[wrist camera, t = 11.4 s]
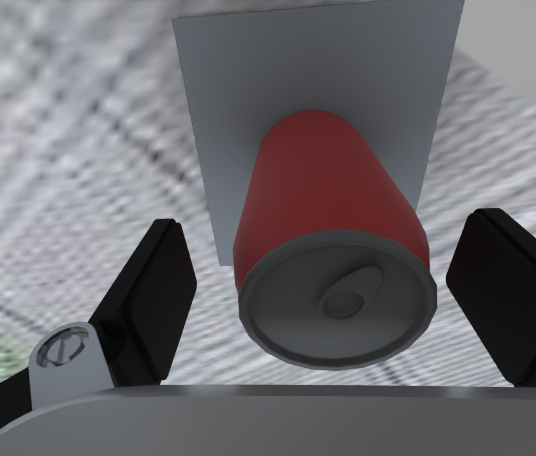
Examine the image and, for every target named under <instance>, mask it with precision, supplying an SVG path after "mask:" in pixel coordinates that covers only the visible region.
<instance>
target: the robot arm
mask: <svg viewBox="0 0 536 456" xmlns="http://www.w3.org/2000/svg"><path fill="white" fill-rule="evenodd" d="M446 284H447V287H448V288H449V290H450V292H451V293H452V295H453V296H454V298H455V300H456V301H457V303H458V304H459V306H460V308H461V309H462V311H463V312H464V314H465V316H466V317H467V319H468V320H469V322H470V324H471V325H472V327H473V329H474V330H475V332H476V333H477V335H478V337H479V338H480V340H481V341H482V343H483V345H484V346H485V348H486V349H487V351H488V353H489V354H490V356H491V357H492V359H493V361H494V362H495V364H496V365H497V367H498V369H499V370H500V372H501V373H502V375H503V377H504V378H505V379H506V380H507V381H508V382H510V383H512V384H513V385H514V387H456V386H368V385H160V383H161V380H165V379H166V378H167V376H168V374H169V371H170V368H171V365H172V362H173V359H174V356H175V353H176V350H177V347H178V344H179V341H180V338H181V335H182V332H183V329H184V325H185V322H186V319H187V316H188V313H189V310H190V307H191V304H192V301H193V298H194V295H195V292H196V288H197V281H196V277H195V273H194V269H193V266H192V262H191V259H190V255H189V251H188V248H187V244H186V240H185V237H184V233H183V230H182V226H181V224H180V223H176V221H175V220H174V219H156V220H155V221H154V222H153V224H152V225H151V227H150V228H149V230H148V231H147V233H146V234H145V236H144V237H143V239H142V240H141V242H140V243H139V245H138V246H137V248H136V249H135V251H134V252H133V254H132V256H131V257H130V259H129V260H128V262H127V263H126V265H125V266H124V268H123V269H122V271H121V272H120V274H119V275H118V277H117V278H116V280H115V281H114V283H113V284H112V286H111V287H110V289H109V290H108V292H107V293H106V295H105V297H104V298H103V300H102V301H101V303H100V304H99V306H98V307H97V309H96V310H95V312H94V313H93V315H92V316H91V318H90V319H89V321H88V322H73V323H69V324H66V325H63V326H61V327H59V328H57V329H55V330H53V331H52V332H50V333H49V334H48V335H46V336H45V337H44V338H43V339H41V340H40V342H39V343H38V344H37V345H36V346H35V347H34V349H33V351H32V353H31V355H30V356H29V363H28V366H29V367H27V368H25V369H24V370H22V371H20V372H18V373H17V374H15V375H13V376H11V377H10V378H8V379H6V380H4V381H3V382H1V383H0V456H536V238H535V237H534V236H533V235H531V234H530V233H529V232H528V231H527V230H525V229H524V228H523V227H522V226H521V225H520V224H518V223H517V222H516V221H515V220H514V219H513V218H511V217H510V216H509V215H508V214H507V213H505V212H504V211H503V210H502V209H500V208H480V209H476V210H475V211H474V213H471V214H470V215H469V216H468V218H467V220H466V223H465V226H464V228H463V231H462V234H461V236H460V239H459V242H458V245H457V247H456V250H455V253H454V255H453V258H452V261H451V264H450V266H449V269H448V272H447V274H446Z"/></svg>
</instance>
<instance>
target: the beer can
mask: <svg viewBox="0 0 536 456" xmlns="http://www.w3.org/2000/svg"><path fill="white" fill-rule="evenodd" d="M233 263H234V277H235V286H236V289H237V292H238V295H239V296H238V303H239V318H240V320H241V322H242V324H243V326H244V328H245V330H246V332H247V334H248V336H249V337H250V338H251V339H252V340H253V341H254V342H256V343H257V344H258V345H259V346H260V347H261V348H262V349H263V350H264V351H266V352H267V353H269V354H271V355H273V356H274V357H276V358H278V359H280V360H282V361H284V362H286V363H289V364H293V365H296V366H300V367H304V368H308V369H314V370H330V371H340V370H349V369H357V368H364V367H367V366H370V365H373V364H376V363H380V362H383V361H386V360H388V359H390V358H392V357H393V356H395V355H397V354H399V353H400V352H402V351H404V350H406V349H407V348H409V347H410V346H411V345H412V344H413V343H414V342H415V341H416V340H417V339H418V338H419V337H420V336H421V335H422V334H423V333H424V332H425V331H426V330H427V329H428V327H429V324H430V322H431V320H432V318H433V316H434V314H435V312H436V309H437V285H436V283H435V281H434V279H433V278H432V276H431V274H430V260H429V245H428V241H427V237H426V233H425V231H424V229H423V227H422V225H421V223H420V221H419V219H418V217H417V215H416V213H415V211H414V209H413V208H412V206H411V205H410V204H409V202H408V201H407V199H406V198H405V197H404V195H403V194H402V192H401V191H400V190H399V188H398V187H397V185H396V184H395V183H394V181H393V180H392V178H391V177H390V176H389V174H388V173H387V171H386V170H385V169H384V167H383V166H382V164H381V163H380V162H379V160H378V159H377V157H376V156H375V155H374V153H373V152H372V150H371V149H370V148H369V146H368V145H367V143H366V142H365V141H364V139H363V138H362V136H361V135H360V133H359V132H358V131H357V129H356V128H355V127H353V126H352V125H351V124H350V123H349V122H348V121H347V120H345V119H344V118H343V117H341V116H338V115H336V114H333V113H330V112H328V111H320V110H305V111H302V112H299V113H296V114H292V115H289V116H287V117H286V118H284V119H283V120H281V121H280V122H279V123H277V124H276V125H274V126H273V127H272V128H271V130H270V131H269V132H268V134H267V135H266V136H265V138H264V139H263V140H262V143H261V146H260V149H259V152H258V155H257V158H256V162H255V165H254V169H253V173H252V177H251V180H250V184H249V188H248V192H247V196H246V199H245V203H244V207H243V211H242V215H241V218H240V222H239V226H238V230H237V233H236V237H235V241H234V245H233Z"/></svg>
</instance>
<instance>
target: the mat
mask: <svg viewBox="0 0 536 456" xmlns="http://www.w3.org/2000/svg"><path fill="white" fill-rule="evenodd" d="M464 1H465V0H389V1H378V2H366V3H354V4H342V5H330V6H319V7H307V8H295V9H283V10H271V11H259V12H248V13H236V14H224V15H212V16H200V17H188V18H177V19H172V23H173V28H174V33H175V38H176V43H177V48H178V54H179V59H180V64H181V69H182V74H183V79H184V84H185V89H186V95H187V100H188V105H189V110H190V115H191V120H192V125H193V130H194V136H195V141H196V146H197V151H198V156H199V161H200V166H201V171H202V177H203V182H204V187H205V192H206V197H207V202H208V207H209V212H210V217H211V223H212V228H213V233H214V238H215V243H216V248H217V253H218V258H219V264H220V266H234V263H233V245H234V241H235V237H236V233H237V230H238V226H239V222H240V218H241V215H242V211H243V207H244V203H245V199H246V196H247V192H248V188H249V184H250V180H251V177H252V173H253V169H254V165H255V162H256V158H257V155H258V152H259V149H260V146H261V143H262V140H263V139H264V138H265V136H266V135H267V134H268V132H269V131H270V130H271V128H272V127H273V126H274V125H276V124H277V123H279V122H280V121H281V120H283V119H284V118H286V117H287V116H289V115H292V114H296V113H299V112H302V111H305V110H320V111H328V112H330V113H333V114H336V115H338V116H341V117H343V118H344V119H345V120H347V121H348V122H349V123H350V124H351V125H352V126H353V127H355V128H356V129H357V131H358V132H359V133H360V135H361V136H362V138H363V139H364V141H365V142H366V143H367V145H368V146H369V148H370V149H371V150H372V152H373V153H374V155H375V156H376V157H377V159H378V160H379V162H380V163H381V164H382V166H383V167H384V169H385V170H386V171H387V173H388V174H389V176H390V177H391V178H392V180H393V181H394V183H395V184H396V185H397V187H398V188H399V190H400V191H401V192H402V194H403V195H404V197H405V198H406V199H407V201H408V202H409V204H410V205H411V206H412V208H413V209H414V211H415V213H416V208H417V204H418V200H419V195H420V191H421V187H422V182H423V178H424V174H425V169H426V165H427V161H428V156H429V152H430V148H431V143H432V139H433V135H434V130H435V126H436V122H437V118H438V113H439V109H440V105H441V100H442V96H443V92H444V87H445V83H446V79H447V74H448V70H449V66H450V61H451V57H452V53H453V48H454V44H455V40H456V35H457V31H458V26H459V23H460V18H461V14H462V9H463V5H464Z"/></svg>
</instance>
